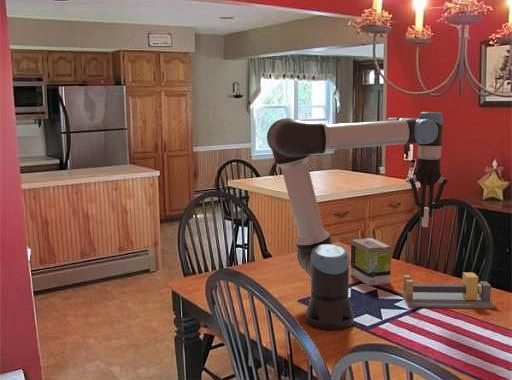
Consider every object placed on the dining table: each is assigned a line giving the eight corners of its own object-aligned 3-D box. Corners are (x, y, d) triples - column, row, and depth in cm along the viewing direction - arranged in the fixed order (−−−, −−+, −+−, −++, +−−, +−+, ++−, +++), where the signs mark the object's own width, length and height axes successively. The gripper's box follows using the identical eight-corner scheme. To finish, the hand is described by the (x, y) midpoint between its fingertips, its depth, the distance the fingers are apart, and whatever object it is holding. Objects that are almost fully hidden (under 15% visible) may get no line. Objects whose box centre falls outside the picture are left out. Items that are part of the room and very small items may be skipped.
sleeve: (477, 300, 181) (478, 277, 180) (466, 299, 182) (467, 277, 180) (472, 294, 186) (473, 272, 185) (461, 294, 187) (462, 272, 185)
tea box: (391, 283, 204) (392, 246, 201) (367, 286, 201) (368, 248, 199) (372, 272, 218) (372, 236, 216) (349, 274, 215) (350, 238, 213)
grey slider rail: (493, 308, 178) (495, 285, 177) (408, 306, 180) (408, 284, 179) (481, 295, 190) (483, 273, 188) (401, 294, 192) (402, 272, 191)
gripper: (446, 157, 184) (441, 224, 187) (407, 156, 185) (403, 223, 189) (451, 159, 176) (447, 229, 180) (411, 158, 178) (407, 228, 181)
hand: (424, 226), depth 184 cm, fingers closed
